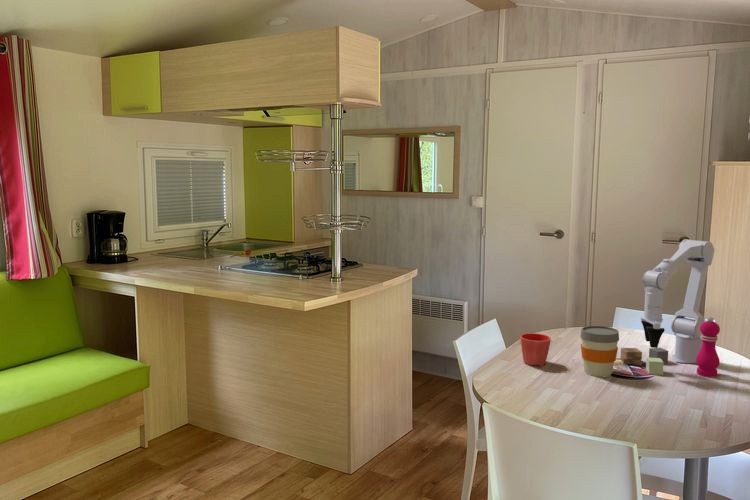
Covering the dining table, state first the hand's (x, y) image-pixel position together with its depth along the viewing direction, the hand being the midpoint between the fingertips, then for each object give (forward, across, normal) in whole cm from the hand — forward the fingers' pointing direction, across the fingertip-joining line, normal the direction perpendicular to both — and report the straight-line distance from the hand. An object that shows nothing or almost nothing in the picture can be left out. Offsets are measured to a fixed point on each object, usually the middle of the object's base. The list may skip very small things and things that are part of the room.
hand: (651, 344), depth 220 cm
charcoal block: (+10, -12, +5) cm, 16 cm away
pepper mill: (+10, 0, +18) cm, 21 cm away
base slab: (+10, -9, -5) cm, 14 cm away
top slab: (+7, -9, -5) cm, 12 cm away
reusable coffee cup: (+10, +5, -18) cm, 21 cm away
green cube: (+10, +1, +1) cm, 10 cm away
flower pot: (+10, -1, -39) cm, 40 cm away
